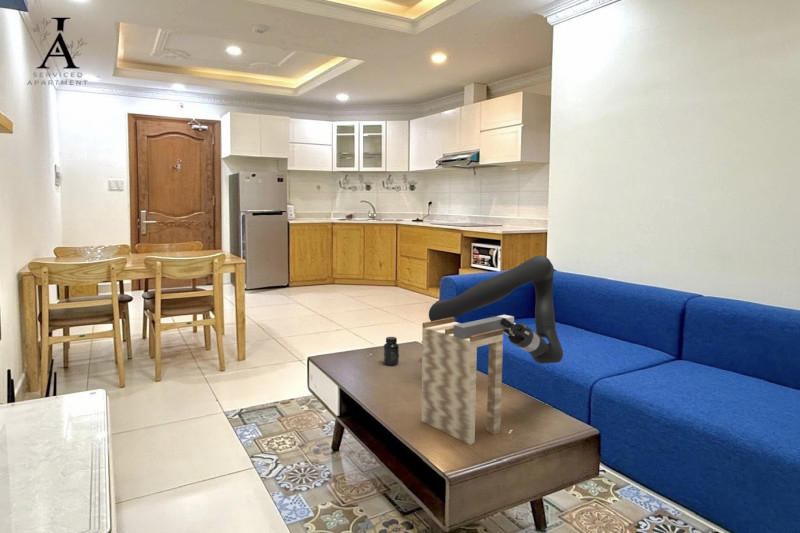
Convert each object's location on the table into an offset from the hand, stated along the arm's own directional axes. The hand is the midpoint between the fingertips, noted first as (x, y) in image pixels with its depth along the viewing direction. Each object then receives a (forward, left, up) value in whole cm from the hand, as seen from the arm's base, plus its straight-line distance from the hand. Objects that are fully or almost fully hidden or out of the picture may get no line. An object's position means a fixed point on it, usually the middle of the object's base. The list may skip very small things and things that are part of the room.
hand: (496, 319), depth 169 cm
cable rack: (-5, -11, -35) cm, 37 cm away
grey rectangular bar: (0, -6, -3) cm, 6 cm away
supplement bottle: (-70, +12, -35) cm, 80 cm away
